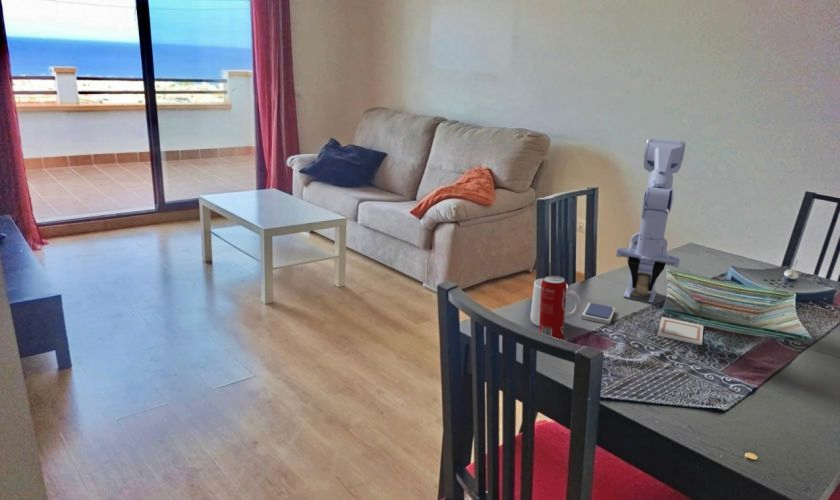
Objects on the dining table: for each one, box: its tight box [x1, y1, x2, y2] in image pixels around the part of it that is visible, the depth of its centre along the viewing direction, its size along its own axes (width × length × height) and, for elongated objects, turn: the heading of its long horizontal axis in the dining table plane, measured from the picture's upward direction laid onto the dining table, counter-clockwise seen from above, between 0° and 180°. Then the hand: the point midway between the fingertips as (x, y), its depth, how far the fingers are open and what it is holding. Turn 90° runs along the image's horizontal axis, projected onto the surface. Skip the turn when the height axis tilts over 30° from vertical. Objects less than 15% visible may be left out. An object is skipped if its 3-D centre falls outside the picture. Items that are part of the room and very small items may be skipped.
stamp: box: [629, 272, 652, 304], centre depth 152 cm, size 4×4×6 cm
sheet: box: [656, 316, 704, 346], centre depth 151 cm, size 12×10×1 cm
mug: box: [529, 277, 582, 327], centre depth 151 cm, size 12×8×10 cm
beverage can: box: [538, 275, 568, 340], centre depth 142 cm, size 6×6×15 cm
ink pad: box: [581, 302, 616, 325], centre depth 158 cm, size 9×7×1 cm
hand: (642, 288), depth 152 cm, fingers closed on stamp, 3 cm apart
